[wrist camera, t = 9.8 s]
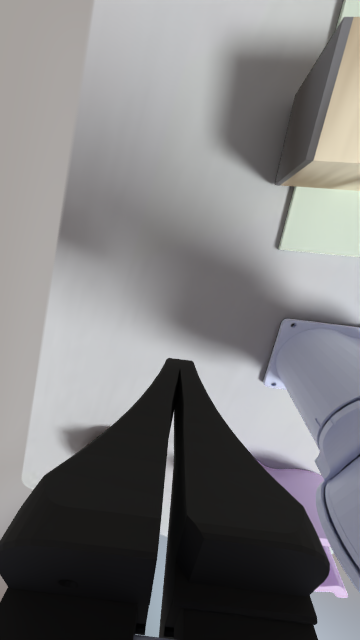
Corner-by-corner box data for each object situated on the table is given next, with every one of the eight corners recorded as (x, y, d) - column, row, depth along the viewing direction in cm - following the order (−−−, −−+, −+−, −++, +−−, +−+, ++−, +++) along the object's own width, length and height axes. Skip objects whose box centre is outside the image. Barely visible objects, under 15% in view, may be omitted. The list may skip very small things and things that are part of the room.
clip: (193, 483, 31) (190, 547, 24) (235, 435, 26) (245, 499, 20) (304, 530, 32) (329, 603, 25) (364, 493, 27) (414, 572, 21)
